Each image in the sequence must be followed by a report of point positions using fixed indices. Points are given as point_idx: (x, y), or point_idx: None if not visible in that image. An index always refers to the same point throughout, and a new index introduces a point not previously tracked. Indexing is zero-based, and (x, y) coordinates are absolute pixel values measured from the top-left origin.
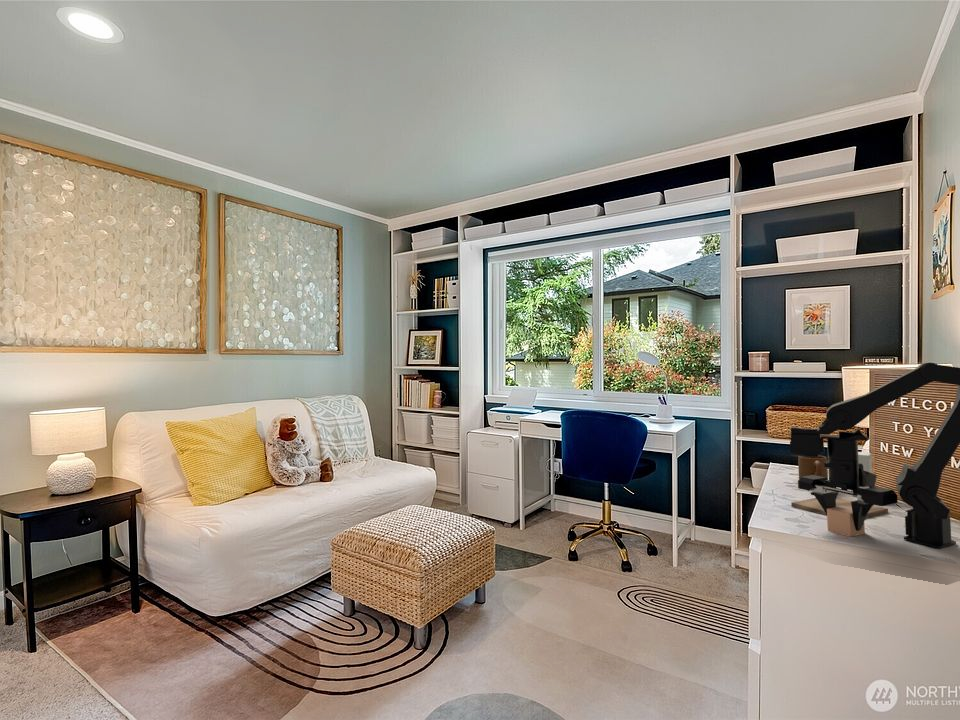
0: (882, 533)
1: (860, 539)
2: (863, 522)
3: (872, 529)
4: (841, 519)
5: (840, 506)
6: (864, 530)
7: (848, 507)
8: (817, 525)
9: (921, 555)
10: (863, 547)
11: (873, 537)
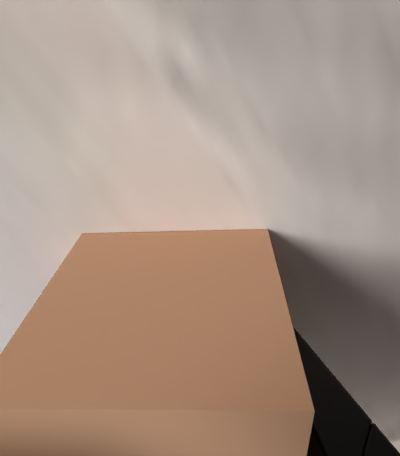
0: (359, 98)
1: (323, 357)
2: (325, 371)
3: (234, 52)
4: None
5: (5, 438)
6: (270, 244)
7: (75, 406)
8: (7, 329)
9: None
10: (395, 435)
11: (357, 266)
